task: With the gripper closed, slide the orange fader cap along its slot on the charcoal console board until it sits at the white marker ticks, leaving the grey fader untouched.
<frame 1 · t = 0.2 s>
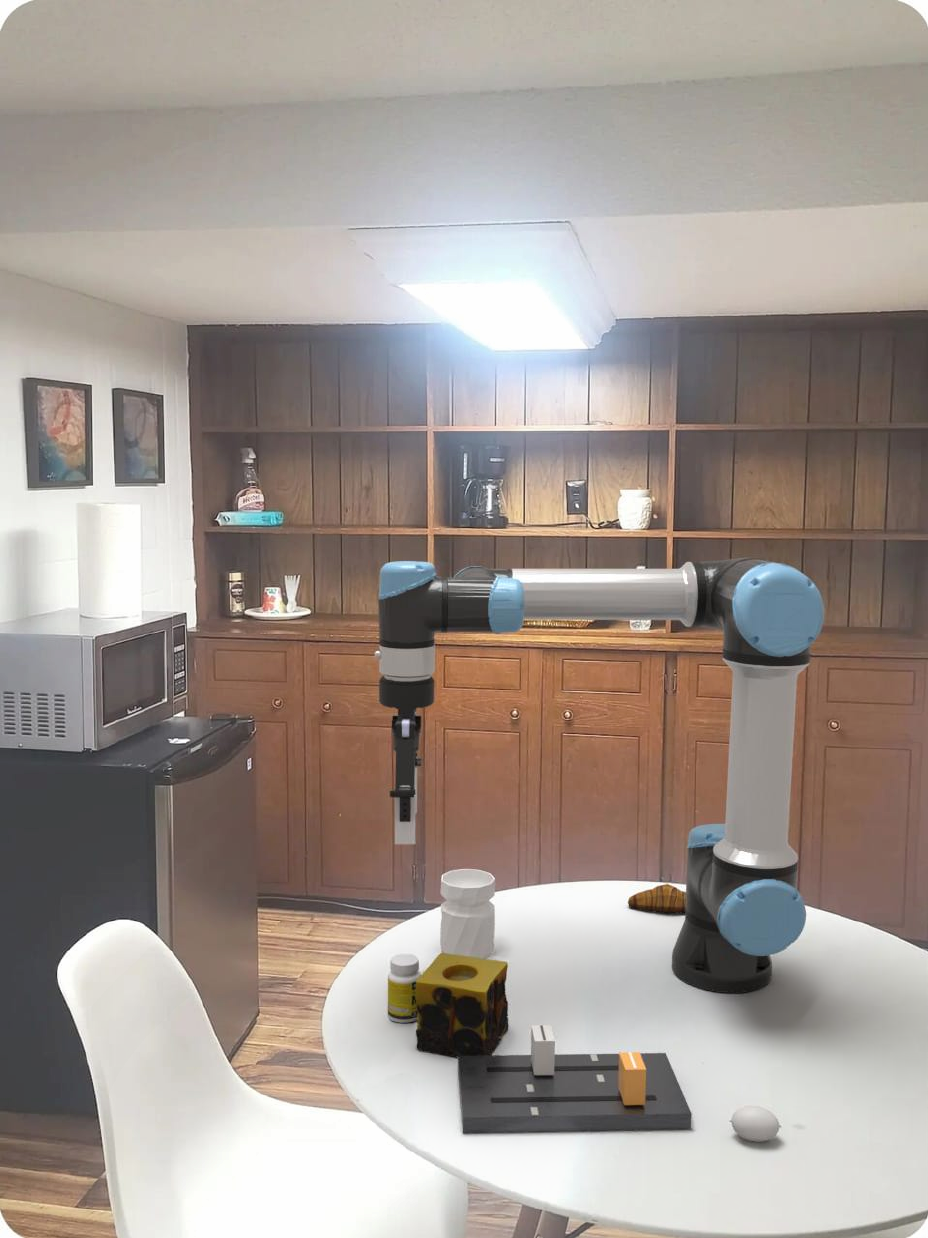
hand: (406, 827, 158), 28 cm above the table, fingers open, 13 cm apart
candle: (462, 1041, 156), on the table
croissant: (666, 912, 202), on the table
supplement bottle: (404, 1017, 163), on the table
fader b: (542, 1049, 145), point 5 cm above the table, slide at 3.0 cm
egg: (754, 1140, 134), on the table
fader a: (631, 1077, 138), point 5 cm above the table, slide at -7.0 cm
vase: (467, 950, 185), on the table
console: (569, 1098, 142), on the table
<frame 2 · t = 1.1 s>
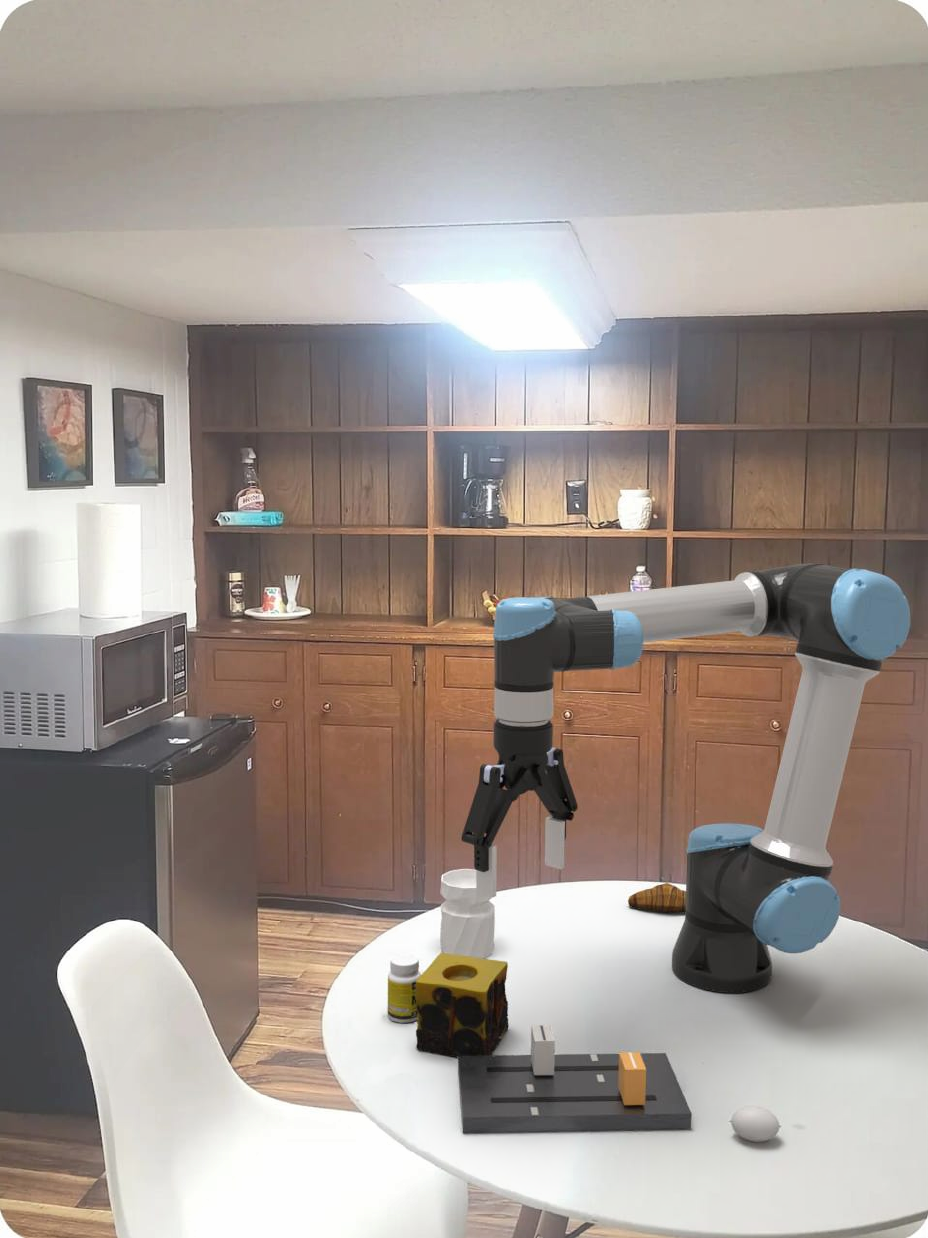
hand: (521, 880, 149), 24 cm above the table, fingers open, 13 cm apart
nothing on the table moved.
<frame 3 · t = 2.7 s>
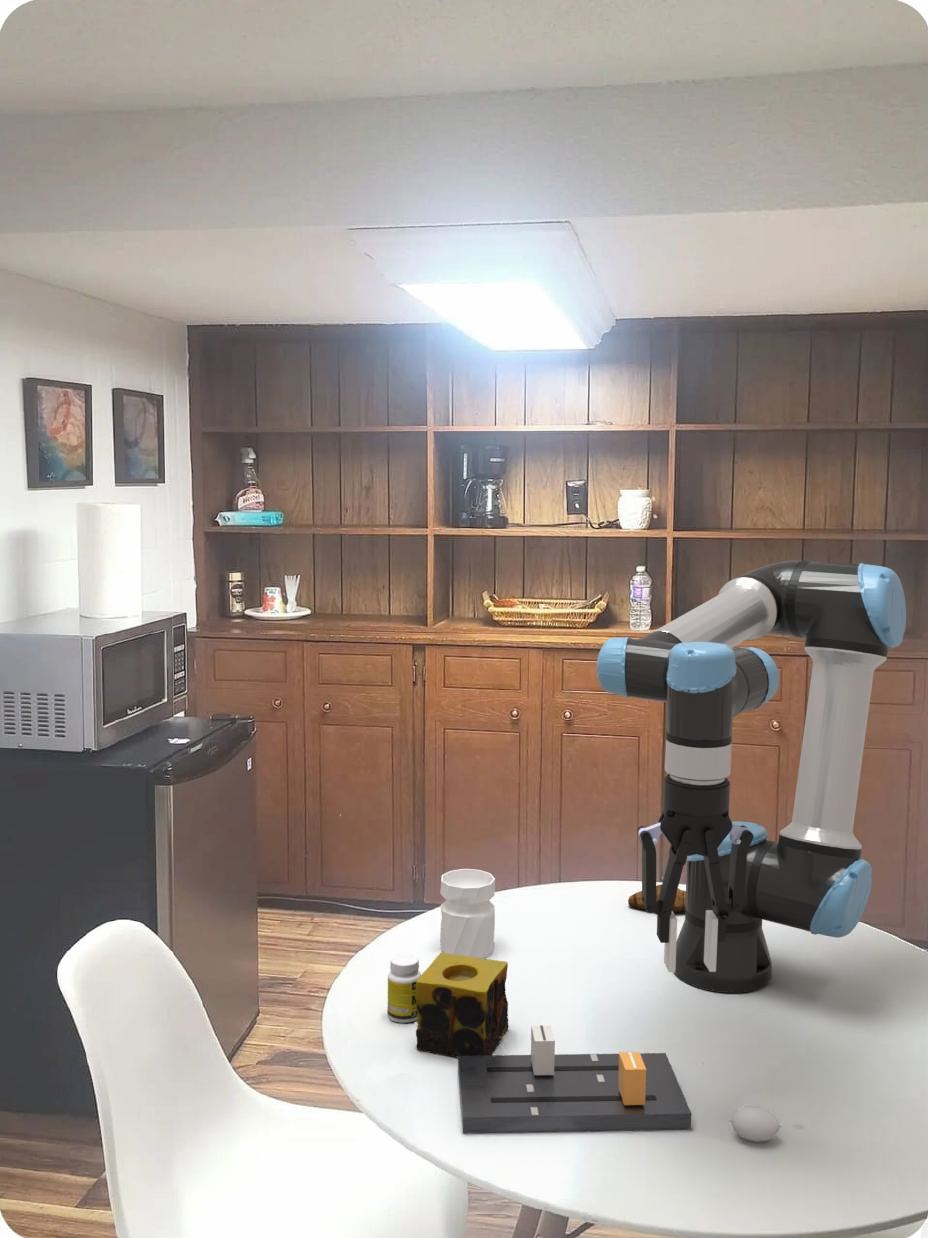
hand: (689, 966, 136), 19 cm above the table, fingers open, 4 cm apart
nothing on the table moved.
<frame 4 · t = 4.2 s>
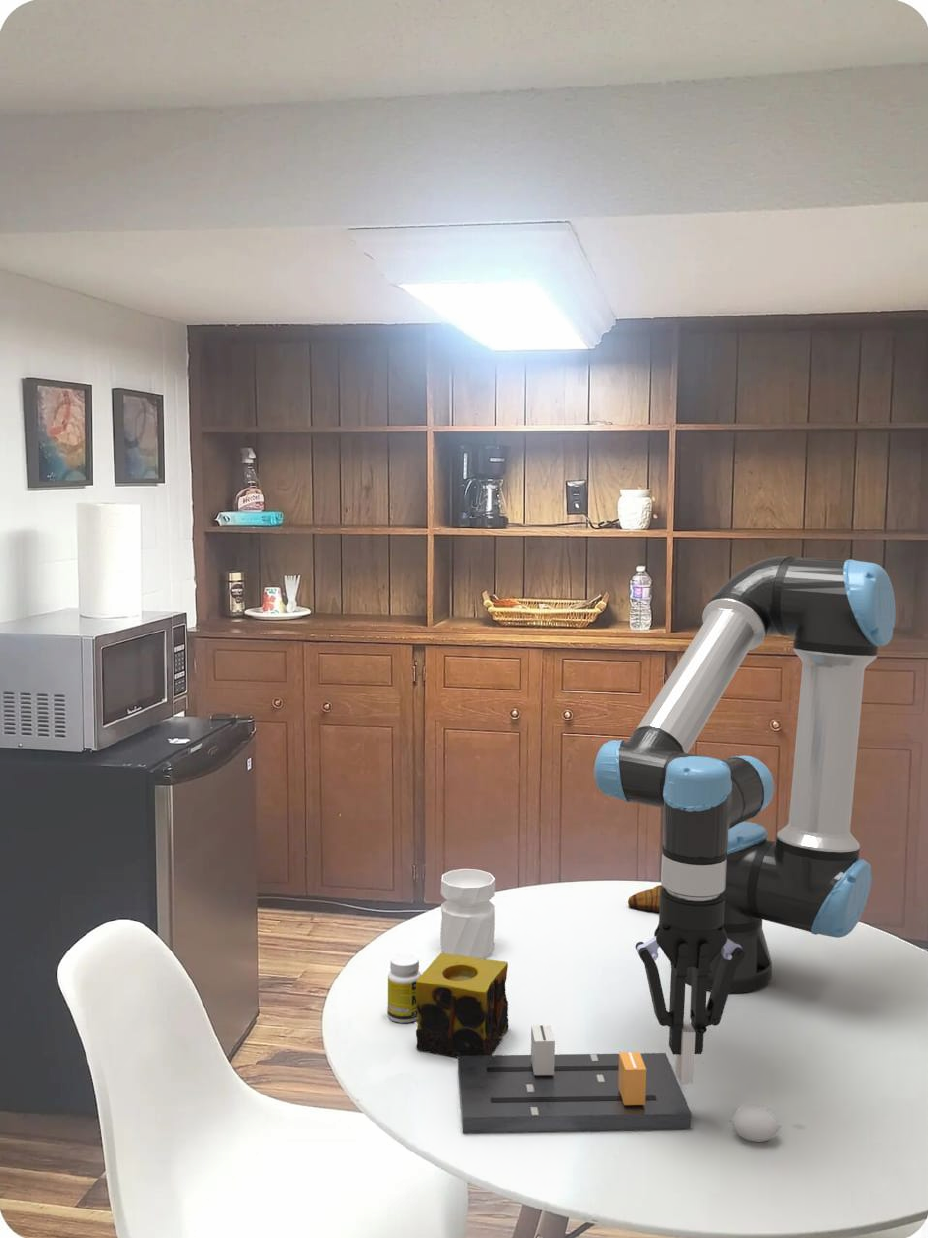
hand: (684, 1077, 138), 5 cm above the table, fingers closed
nothing on the table moved.
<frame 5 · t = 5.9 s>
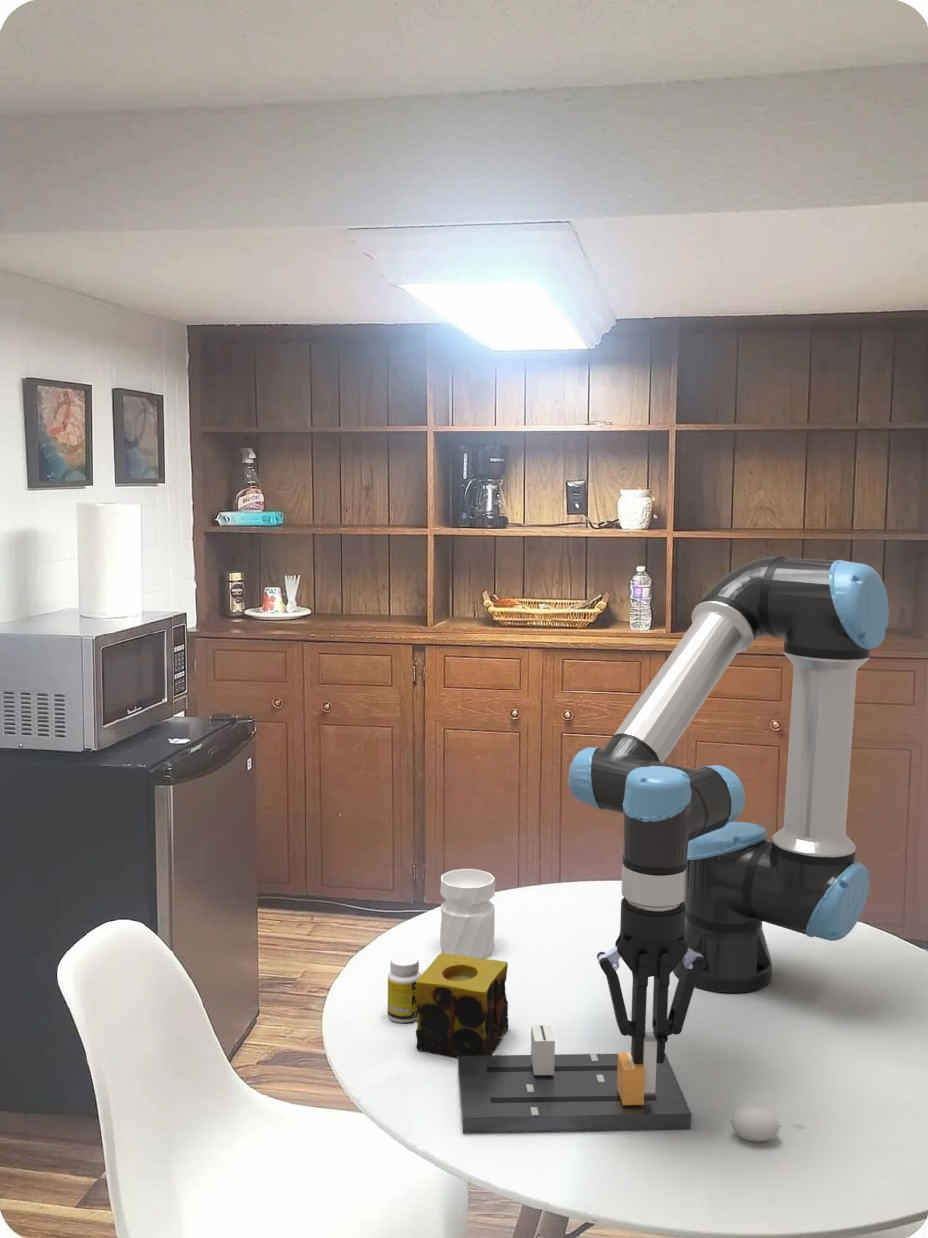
hand: (646, 1086, 138), 3 cm above the table, fingers closed
fader a: (630, 1077, 138), point 5 cm above the table, slide at -6.8 cm, touching gripper
everything else where it was.
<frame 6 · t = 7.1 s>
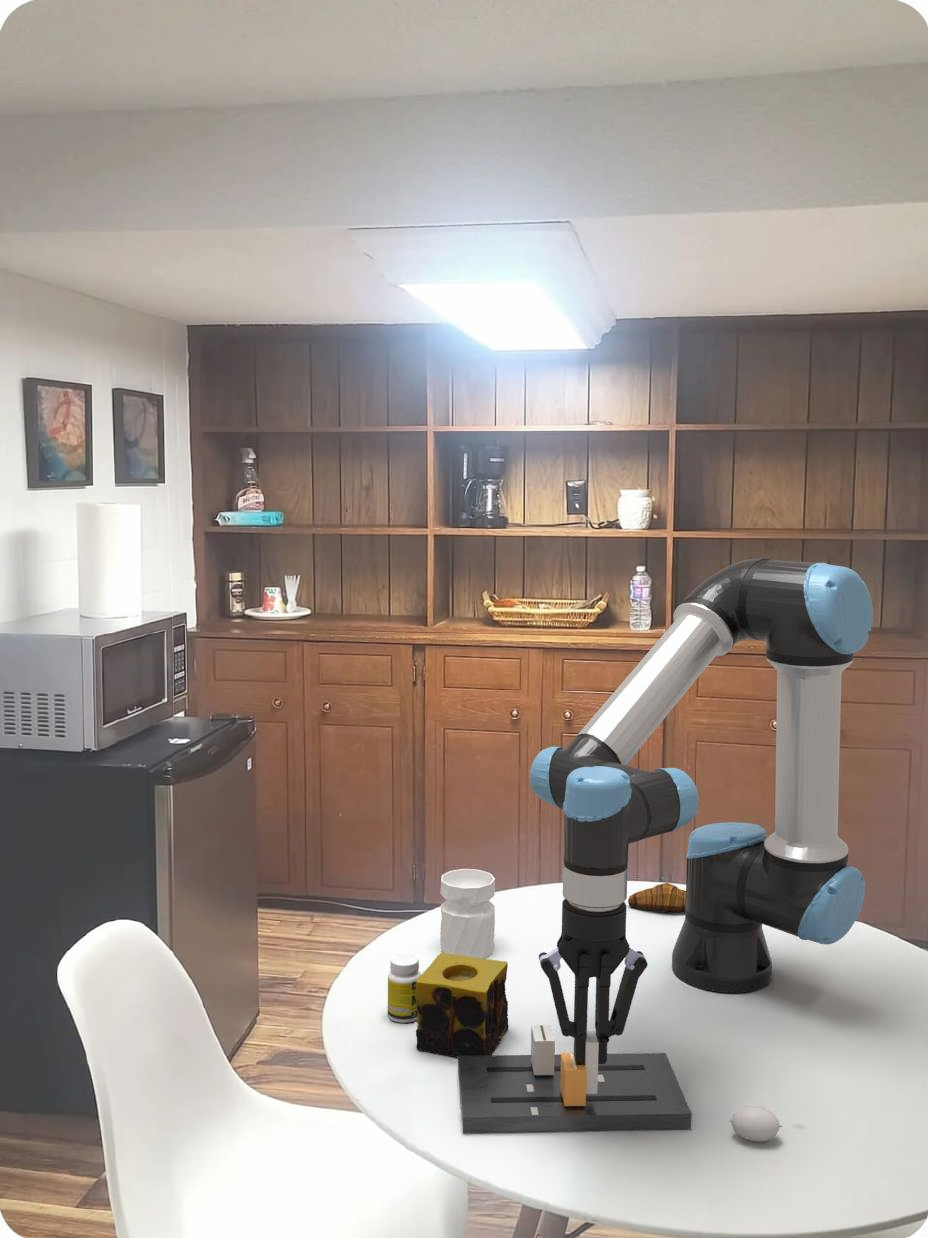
hand: (589, 1087, 138), 3 cm above the table, fingers closed
fader a: (573, 1078, 138), point 5 cm above the table, slide at 0.1 cm, touching gripper
everything else where it was.
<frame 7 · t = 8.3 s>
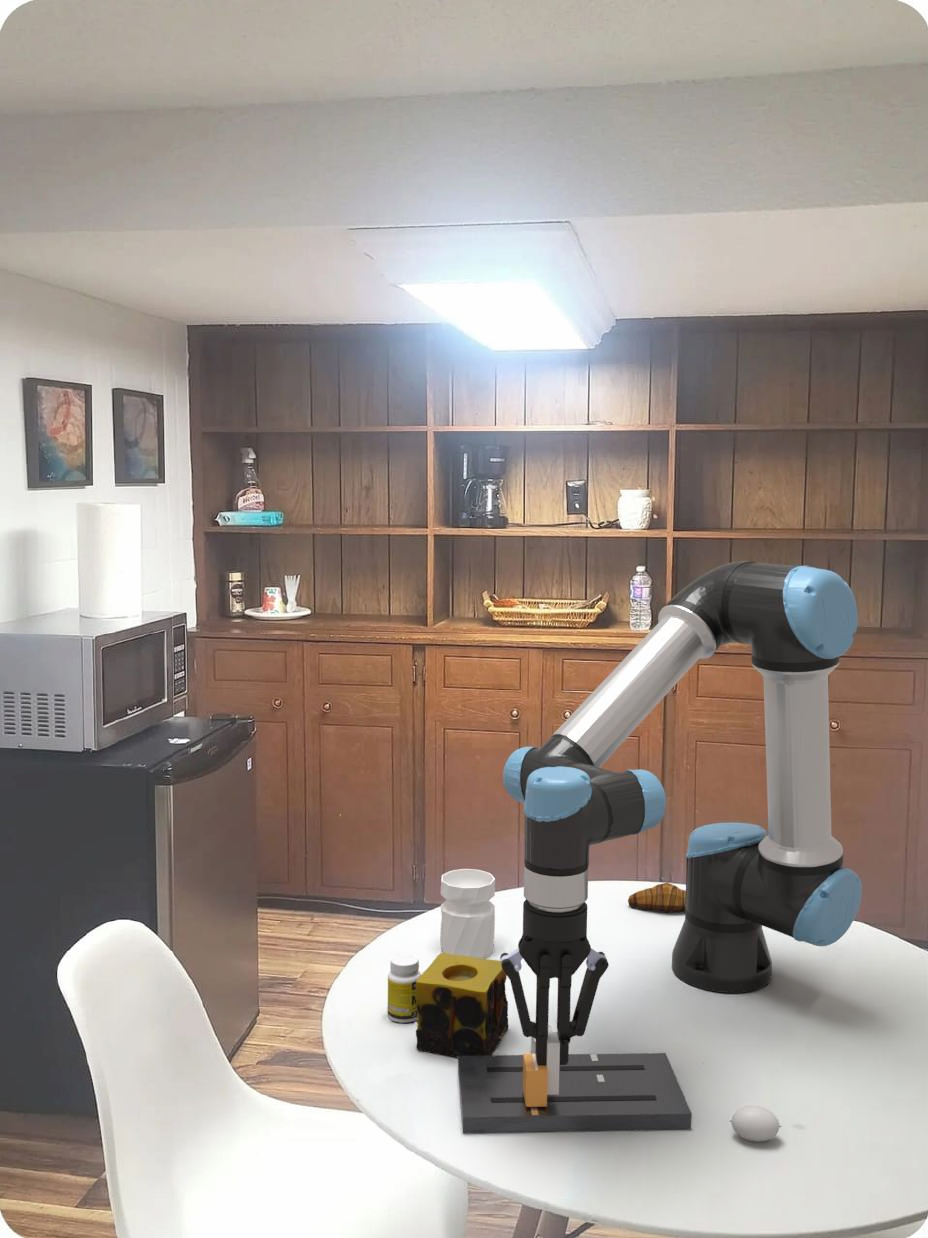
hand: (551, 1088, 138), 3 cm above the table, fingers closed
fader a: (534, 1079, 137), point 5 cm above the table, slide at 4.7 cm, touching gripper
everything else where it was.
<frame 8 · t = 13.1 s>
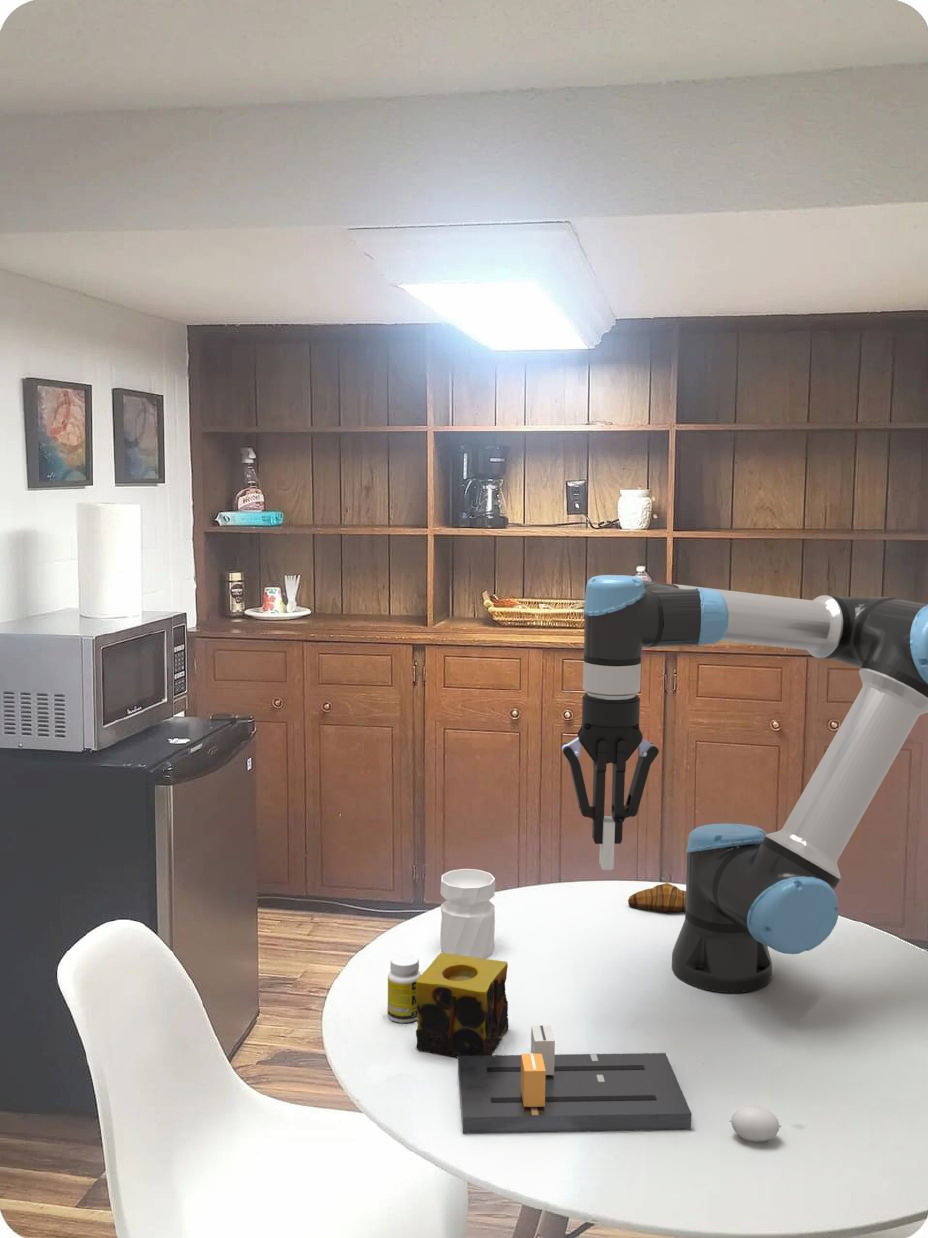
hand: (606, 866, 154), 24 cm above the table, fingers closed
fader a: (532, 1079, 137), point 5 cm above the table, slide at 5.0 cm
everything else where it was.
at the end: fader a slide at 5.0 cm; fader b slide at 3.0 cm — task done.
